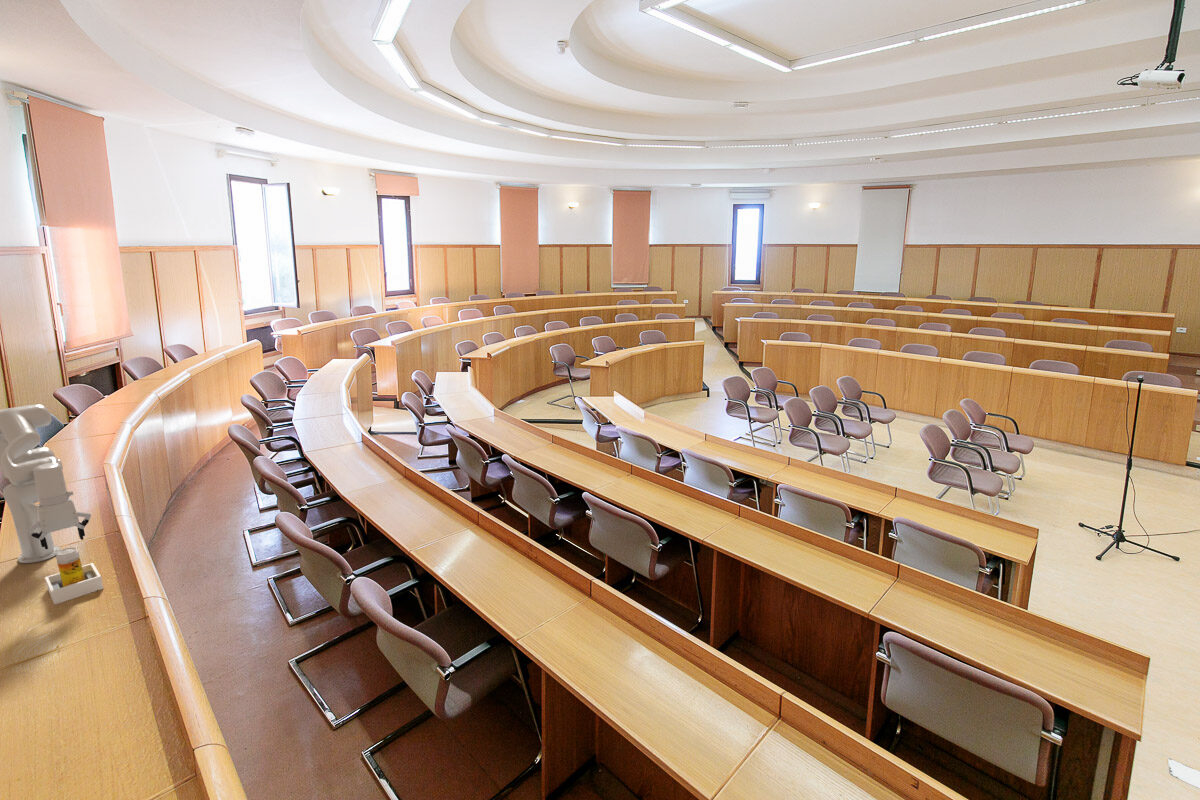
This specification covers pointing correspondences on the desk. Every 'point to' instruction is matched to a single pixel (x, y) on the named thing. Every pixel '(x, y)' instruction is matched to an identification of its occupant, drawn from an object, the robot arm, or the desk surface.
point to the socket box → (74, 585)
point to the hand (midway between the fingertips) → (64, 543)
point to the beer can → (70, 566)
